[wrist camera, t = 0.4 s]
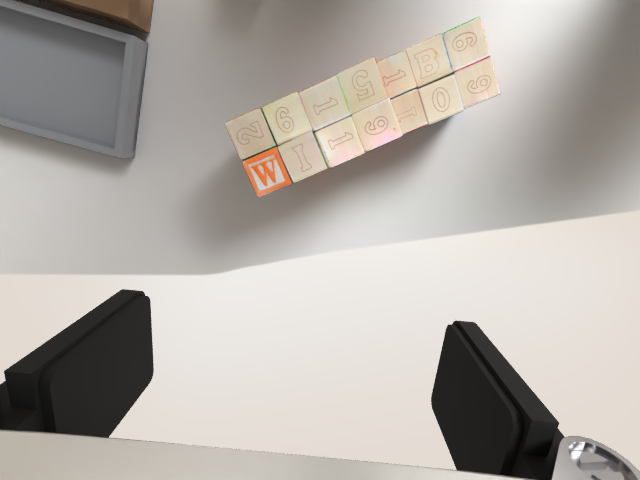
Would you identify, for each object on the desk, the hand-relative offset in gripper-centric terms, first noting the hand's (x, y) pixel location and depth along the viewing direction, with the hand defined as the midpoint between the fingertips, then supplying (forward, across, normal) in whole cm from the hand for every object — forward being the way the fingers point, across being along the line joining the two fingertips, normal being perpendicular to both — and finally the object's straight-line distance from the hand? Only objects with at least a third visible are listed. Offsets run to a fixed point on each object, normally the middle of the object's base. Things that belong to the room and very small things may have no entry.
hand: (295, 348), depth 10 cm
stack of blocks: (+30, -3, -9) cm, 32 cm away
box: (+30, +30, -11) cm, 44 cm away
